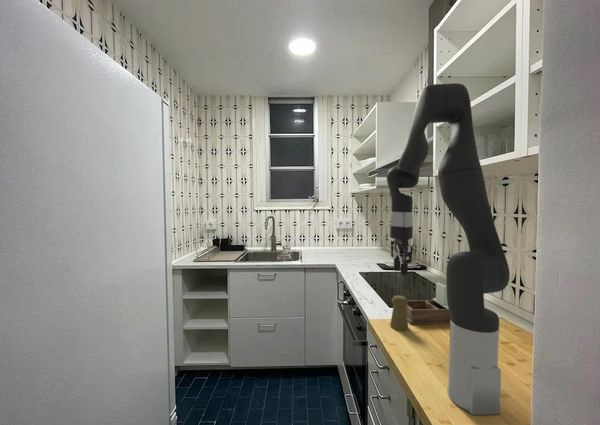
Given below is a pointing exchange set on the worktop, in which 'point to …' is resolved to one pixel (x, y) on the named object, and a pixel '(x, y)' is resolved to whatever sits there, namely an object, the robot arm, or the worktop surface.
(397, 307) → the olive rounded piece
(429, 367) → the worktop surface
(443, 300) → the lid
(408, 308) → the caddy
